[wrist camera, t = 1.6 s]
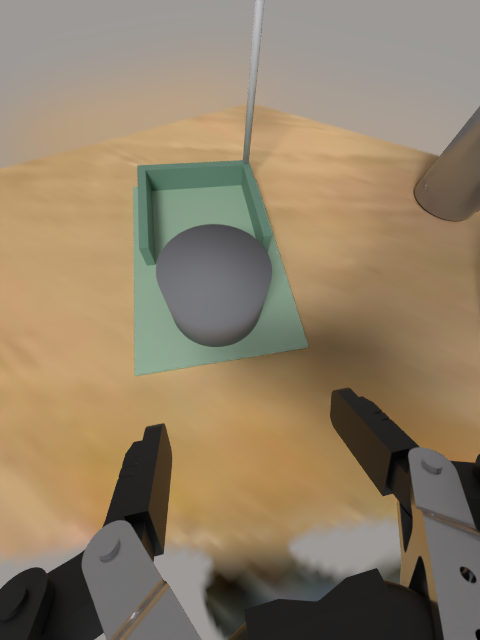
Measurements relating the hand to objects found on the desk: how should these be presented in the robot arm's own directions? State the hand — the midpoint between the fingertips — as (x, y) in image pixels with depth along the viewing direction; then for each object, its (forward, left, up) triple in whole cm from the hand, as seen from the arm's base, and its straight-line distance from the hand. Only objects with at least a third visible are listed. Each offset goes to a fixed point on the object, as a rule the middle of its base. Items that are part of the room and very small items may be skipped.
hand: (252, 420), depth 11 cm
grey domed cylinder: (0, -13, -12) cm, 17 cm away
